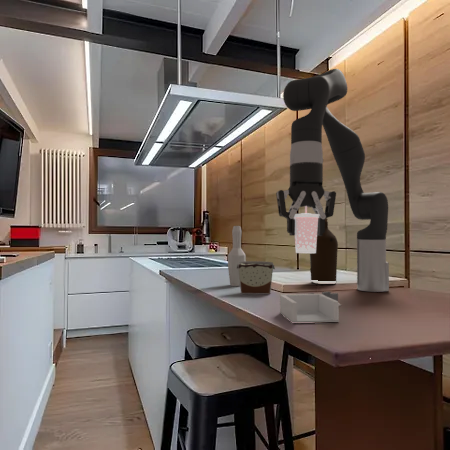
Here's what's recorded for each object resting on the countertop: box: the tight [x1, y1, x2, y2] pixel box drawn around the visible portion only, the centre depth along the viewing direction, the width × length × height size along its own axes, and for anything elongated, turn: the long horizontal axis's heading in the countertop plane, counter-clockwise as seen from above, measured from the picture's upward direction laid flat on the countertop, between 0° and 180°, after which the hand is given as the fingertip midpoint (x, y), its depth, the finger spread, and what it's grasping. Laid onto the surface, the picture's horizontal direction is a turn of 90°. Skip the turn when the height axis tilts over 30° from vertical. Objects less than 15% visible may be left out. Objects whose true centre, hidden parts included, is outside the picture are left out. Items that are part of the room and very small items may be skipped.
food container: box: [236, 260, 276, 295], centre depth 122 cm, size 12×6×10 cm, turn 84°
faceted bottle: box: [227, 225, 247, 287], centre depth 138 cm, size 6×6×22 cm
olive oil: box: [309, 218, 339, 282], centre depth 144 cm, size 11×11×25 cm
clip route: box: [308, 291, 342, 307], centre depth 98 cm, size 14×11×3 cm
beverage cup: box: [294, 206, 319, 254], centre depth 87 cm, size 6×6×14 cm
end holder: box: [279, 293, 340, 323], centre depth 86 cm, size 10×10×5 cm
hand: (305, 235), depth 87 cm, fingers closed on beverage cup, 6 cm apart
